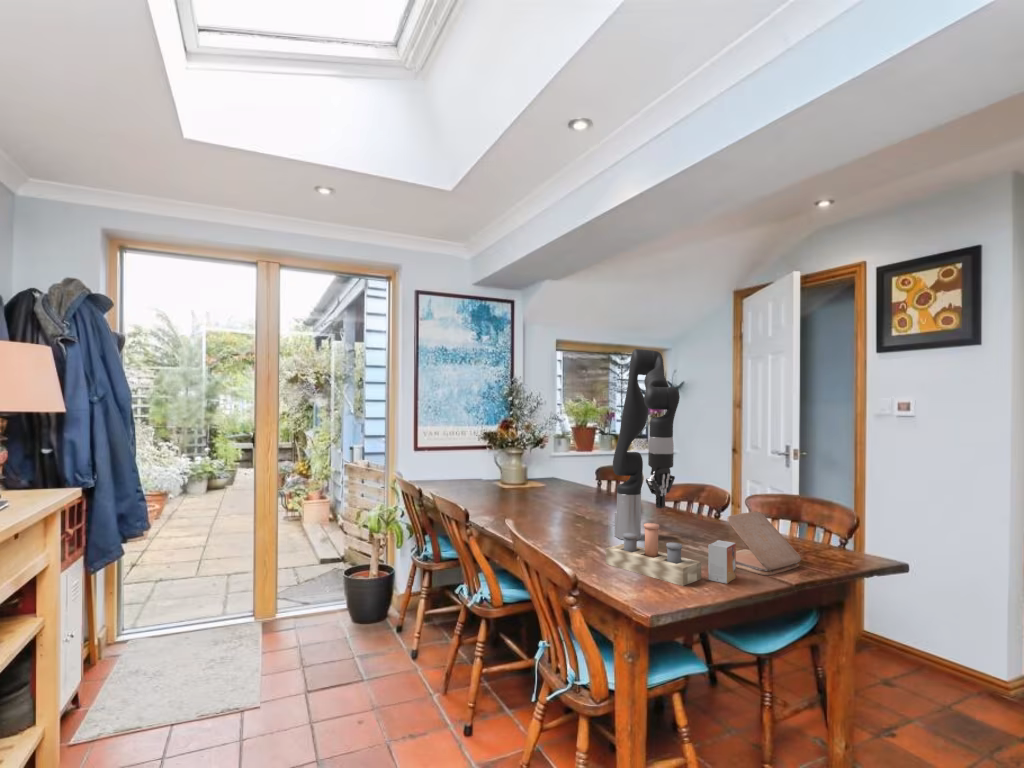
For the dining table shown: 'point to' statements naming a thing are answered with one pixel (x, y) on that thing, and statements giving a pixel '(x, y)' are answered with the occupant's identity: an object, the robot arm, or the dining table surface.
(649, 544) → the plug mid
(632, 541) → the plug left
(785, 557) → the case
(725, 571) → the small box
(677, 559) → the plug right
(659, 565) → the socket block
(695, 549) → the dining table surface
